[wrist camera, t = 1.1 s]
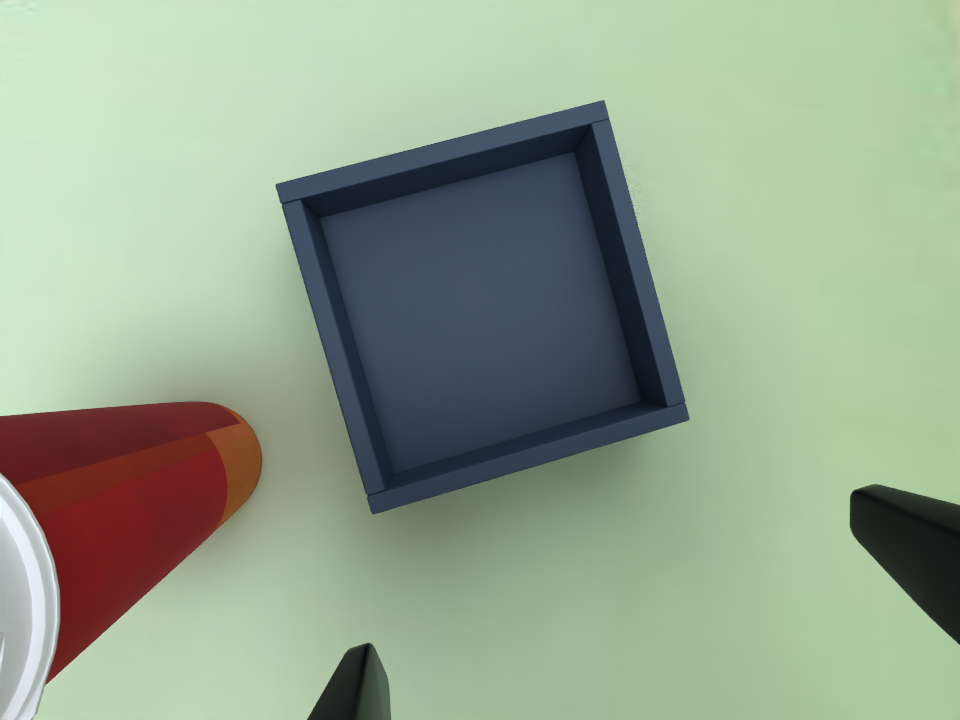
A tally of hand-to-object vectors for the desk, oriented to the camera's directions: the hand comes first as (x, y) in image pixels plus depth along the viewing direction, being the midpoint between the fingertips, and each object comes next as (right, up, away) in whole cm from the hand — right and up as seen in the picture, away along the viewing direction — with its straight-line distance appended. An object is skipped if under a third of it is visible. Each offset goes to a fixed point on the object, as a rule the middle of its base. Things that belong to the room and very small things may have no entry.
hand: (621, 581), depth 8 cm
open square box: (-2, +6, +14) cm, 15 cm away
